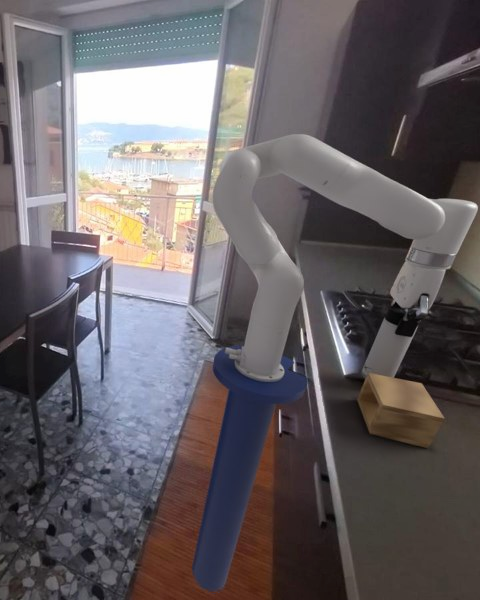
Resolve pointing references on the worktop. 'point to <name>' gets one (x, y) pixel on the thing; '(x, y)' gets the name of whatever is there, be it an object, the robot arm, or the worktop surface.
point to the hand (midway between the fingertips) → (398, 327)
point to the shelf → (399, 410)
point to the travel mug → (387, 346)
